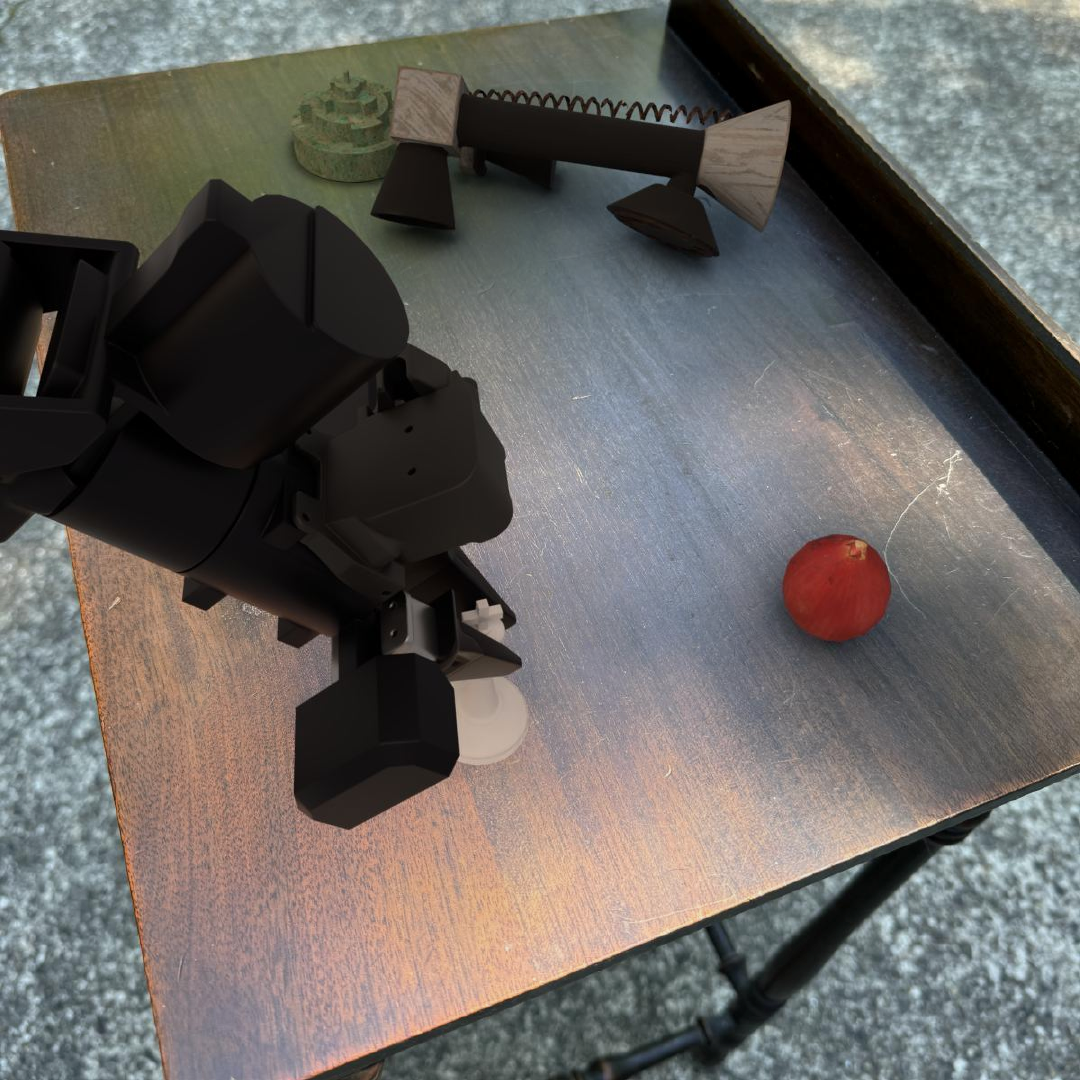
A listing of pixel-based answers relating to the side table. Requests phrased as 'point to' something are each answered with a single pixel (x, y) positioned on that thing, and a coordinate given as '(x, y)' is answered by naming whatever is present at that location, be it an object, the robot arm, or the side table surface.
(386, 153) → the decorative artifact
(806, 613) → the onion
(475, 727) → the chess piece
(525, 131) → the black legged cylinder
